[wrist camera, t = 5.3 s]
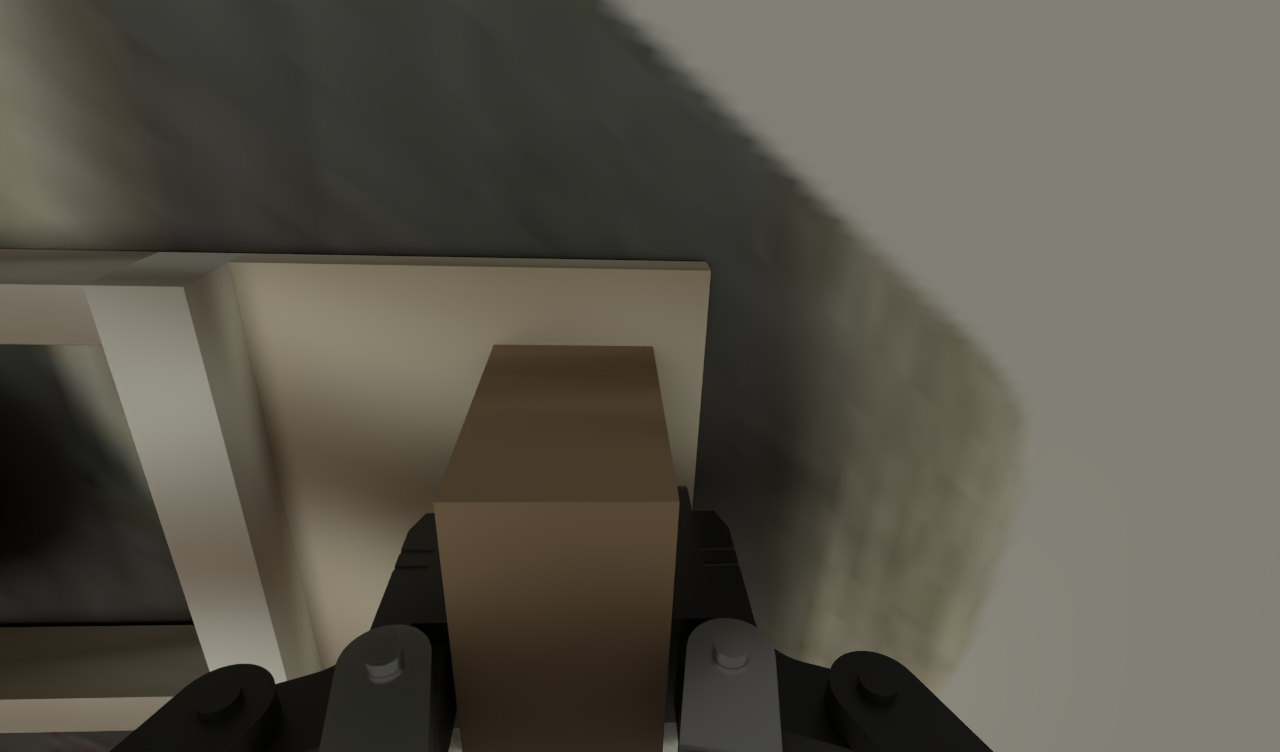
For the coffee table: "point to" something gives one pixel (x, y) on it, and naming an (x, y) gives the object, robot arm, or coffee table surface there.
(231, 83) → the coffee table surface
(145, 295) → the white open frame tray
